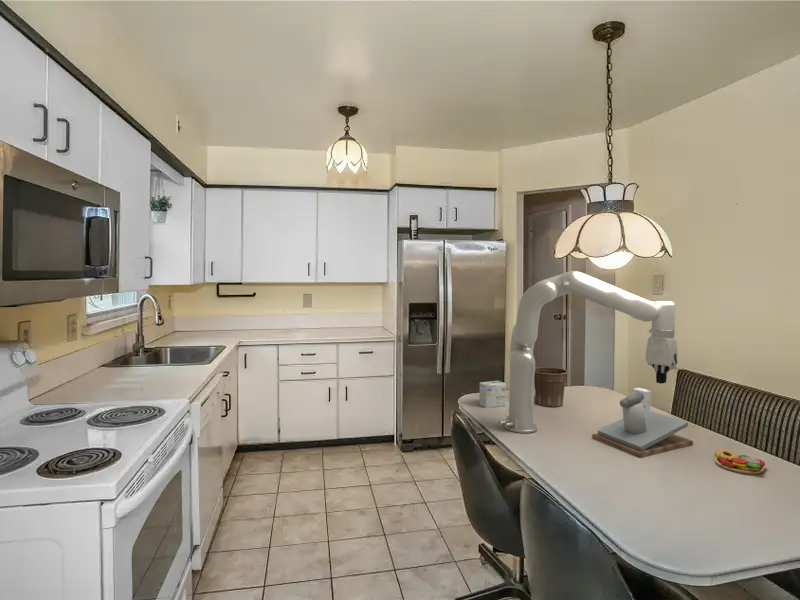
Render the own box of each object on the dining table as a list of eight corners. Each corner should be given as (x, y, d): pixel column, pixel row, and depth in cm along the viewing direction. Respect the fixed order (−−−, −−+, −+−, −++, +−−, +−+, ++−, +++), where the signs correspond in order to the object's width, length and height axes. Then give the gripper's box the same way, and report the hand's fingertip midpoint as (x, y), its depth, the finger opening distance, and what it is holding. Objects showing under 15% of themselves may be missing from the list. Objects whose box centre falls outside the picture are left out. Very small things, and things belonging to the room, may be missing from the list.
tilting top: (641, 451, 155) (636, 410, 153) (598, 434, 172) (593, 397, 170) (688, 426, 165) (684, 388, 163) (643, 412, 182) (639, 377, 180)
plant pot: (524, 403, 218) (524, 369, 217) (543, 397, 229) (543, 365, 228) (555, 411, 206) (555, 375, 205) (573, 404, 217) (574, 370, 216)
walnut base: (639, 457, 154) (640, 453, 154) (592, 438, 172) (592, 434, 172) (692, 444, 166) (693, 440, 166) (642, 427, 184) (643, 424, 184)
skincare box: (631, 415, 199) (632, 388, 199) (637, 414, 202) (638, 387, 201) (644, 419, 194) (645, 391, 193) (650, 418, 196) (651, 390, 196)
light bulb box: (498, 402, 220) (498, 380, 219) (506, 406, 213) (506, 383, 213) (478, 404, 216) (478, 381, 215) (486, 408, 210) (486, 385, 209)
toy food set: (714, 455, 156) (714, 446, 156) (763, 465, 149) (764, 455, 149) (714, 469, 146) (714, 459, 145) (767, 480, 138) (767, 469, 138)
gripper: (637, 332, 176) (636, 379, 177) (675, 337, 162) (673, 388, 163) (651, 331, 179) (649, 377, 180) (689, 336, 165) (687, 386, 166)
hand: (661, 382), depth 172 cm, fingers closed
